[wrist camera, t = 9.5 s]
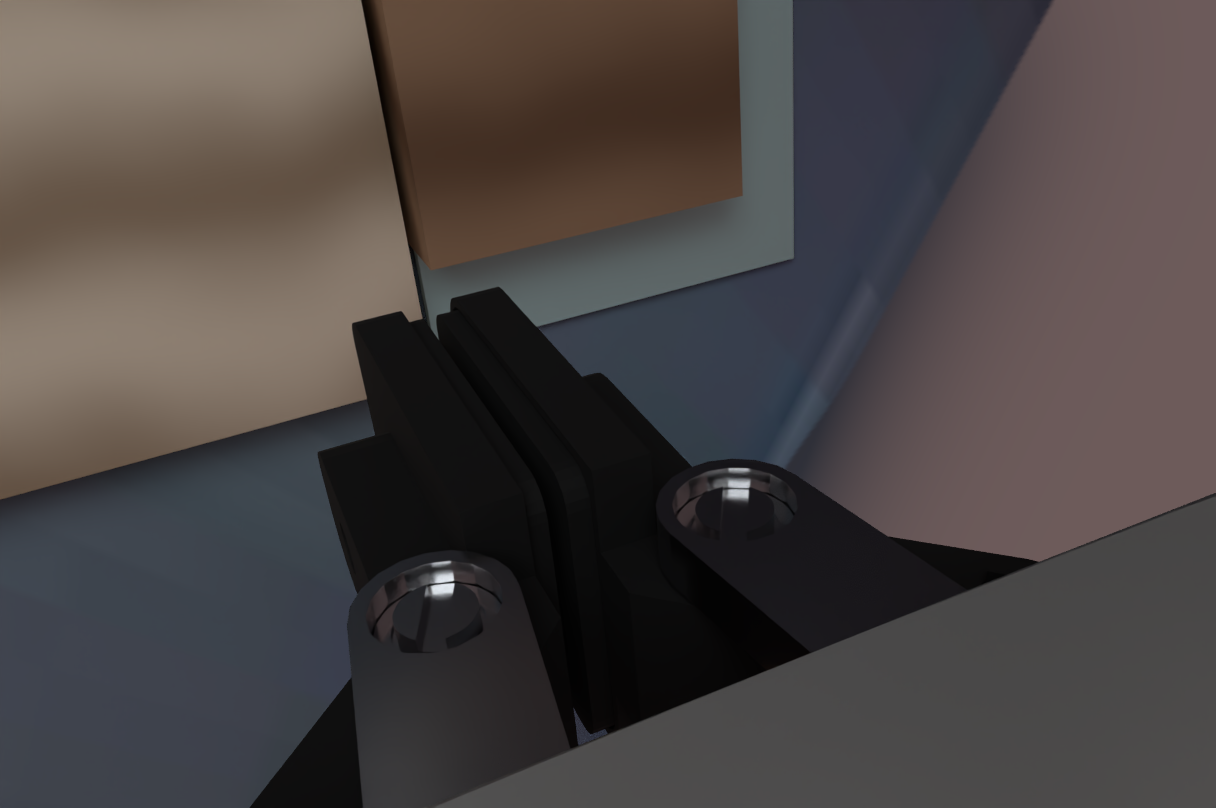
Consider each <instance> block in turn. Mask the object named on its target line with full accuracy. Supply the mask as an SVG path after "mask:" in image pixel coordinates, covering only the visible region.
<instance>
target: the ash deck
mask: <svg viewBox="0 0 1216 808" xmlns="http://www.w3.org/2000/svg"><path fill="white" fill-rule="evenodd" d="M398 311H402V312H403V313H404V315H405V316H406V318H407V319H408V321H409V322H412V321H416V320H420V319H422V314H421V309H420V304H419V299H418V294H417V289H416V283H415V278H414V273H413V268H412V263H411V257H410V252H409V247H408V242H407V237H406V231H405V226H404V221H403V216H402V211H401V205H400V200H399V195H398V190H397V185H396V179H395V174H394V169H393V164H392V159H391V153H390V148H389V143H388V138H387V133H386V127H385V122H384V117H383V112H382V107H381V102H380V96H379V91H378V86H377V81H376V76H375V70H374V65H373V60H372V55H371V50H370V44H369V39H368V34H367V29H366V24H365V18H364V13H363V8H362V3H361V0H0V499H4V498H8V497H11V496H15V495H19V494H22V493H26V492H30V491H33V490H37V489H40V488H44V487H48V486H51V485H55V484H59V483H62V482H66V481H70V480H73V479H77V478H81V477H84V476H88V475H92V474H95V473H99V472H102V471H106V470H110V469H113V468H117V467H121V466H124V465H128V464H132V463H135V462H139V461H143V460H146V459H150V458H154V457H157V456H161V455H164V454H168V453H172V452H175V451H179V450H183V449H186V448H190V447H194V446H197V445H201V444H205V443H208V442H212V441H216V440H219V439H223V438H227V437H230V436H234V435H237V434H241V433H245V432H248V431H252V430H256V429H259V428H263V427H267V426H270V425H274V424H278V423H281V422H285V421H289V420H292V419H296V418H299V417H303V416H307V415H310V414H314V413H318V412H321V411H325V410H329V409H332V408H336V407H340V406H343V405H347V404H351V403H354V402H358V401H361V400H365V399H367V396H366V392H365V388H364V383H363V379H362V374H361V370H360V366H359V361H358V357H357V352H356V348H355V343H354V338H353V332H352V323H354V322H358V321H362V320H366V319H370V318H374V317H378V316H382V315H386V314H390V313H394V312H398Z"/></svg>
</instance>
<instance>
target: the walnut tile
mask: <svg viewBox="0 0 1216 808" xmlns="http://www.w3.org/2000/svg"><path fill="white" fill-rule="evenodd" d="M361 3H362V8H363V13H364V18H365V24H366V29H367V34H368V39H369V44H370V50H371V55H372V60H373V65H374V70H375V76H376V81H377V86H378V91H379V96H380V102H381V107H382V112H383V117H384V122H385V127H386V133H387V138H388V143H389V148H390V153H391V159H392V164H393V169H394V174H395V179H396V185H397V190H398V195H399V200H400V205H401V211H402V216H403V221H404V226H405V231H406V237H407V242H408V244H409V245H410V246H411V247H412V248H413V250H414V251H415V252H416V253H417V254H418V256H419V257H420V258H421V259H422V260H423V262H424V263H425V264H426V265H427V266H428V268H429V269H430V270H435V269H439V268H443V267H448V266H452V265H456V264H460V263H464V262H469V261H473V260H477V259H481V258H485V257H489V256H494V255H498V254H502V253H506V252H510V251H514V250H519V249H523V248H527V247H531V246H535V245H539V244H544V243H548V242H552V241H556V240H560V239H564V238H569V237H573V236H577V235H581V234H585V233H589V232H594V231H598V230H602V229H606V228H610V227H614V226H619V225H623V224H627V223H631V222H635V221H639V220H644V219H648V218H652V217H656V216H660V215H665V214H669V213H673V212H677V211H681V210H685V209H690V208H694V207H698V206H702V205H706V204H710V203H715V202H719V201H723V200H727V199H731V198H735V197H740V196H743V187H742V150H741V114H740V77H739V41H738V4H737V0H361Z"/></svg>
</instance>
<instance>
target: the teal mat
mask: <svg viewBox="0 0 1216 808" xmlns="http://www.w3.org/2000/svg"><path fill="white" fill-rule="evenodd" d="M737 4H738V41H739V77H740V114H741V150H742V187H743V196H740V197H735V198H731V199H727V200H723V201H719V202H715V203H710V204H706V205H702V206H698V207H694V208H690V209H685V210H681V211H677V212H673V213H669V214H665V215H660V216H656V217H652V218H648V219H644V220H639V221H635V222H631V223H627V224H623V225H619V226H614V227H610V228H606V229H602V230H598V231H594V232H589V233H585V234H581V235H577V236H573V237H569V238H564V239H560V240H556V241H552V242H548V243H544V244H539V245H535V246H531V247H527V248H523V249H519V250H514V251H510V252H506V253H502V254H498V255H494V256H489V257H485V258H481V259H477V260H473V261H469V262H464V263H460V264H456V265H452V266H448V267H443V268H439V269H435V270H430V269H429V268H428V266H427V265H426V264H425V263H424V262H423V260H422V259H421V258H420V257H419V256H418V254H417V253H416V252H415V251H414V256H415V261H416V266H417V271H418V277H419V282H420V287H421V292H422V298H423V303H424V308H425V313H426V319H427V324H428V325H429V327H430V328H431V330H432V331H433V332H434V334H435V335H436V337H437V338H438V332H437V326H436V317H437V315H439V314H443V313H447V312H450V302H451V299H452V298H454V297H458V296H462V295H467V294H471V293H475V292H479V291H483V290H487V289H491V288H495V287H500V288H501V289H503V291H504V292H505V293H506V294H507V295H508V296H509V297H510V298H511V299H512V300H513V302H514V303H515V304H516V305H517V306H518V307H519V308H520V309H521V310H522V311H523V313H524V314H525V315H526V316H527V317H528V318H529V319H530V320H531V321H532V322H533V324H534V325H535V326H536V327H537V326H541V325H545V324H549V323H553V322H556V321H560V320H564V319H568V318H571V317H575V316H579V315H583V314H586V313H590V312H594V311H598V310H601V309H605V308H609V307H613V306H616V305H620V304H624V303H628V302H631V301H635V300H639V299H643V298H646V297H650V296H654V295H658V294H661V293H665V292H669V291H673V290H677V289H680V288H684V287H688V286H692V285H695V284H699V283H703V282H707V281H710V280H714V279H718V278H722V277H725V276H729V275H733V274H737V273H740V272H744V271H748V270H752V269H755V268H759V267H763V266H767V265H770V264H774V263H778V262H782V261H785V260H789V259H793V258H794V184H793V0H737ZM438 340H439V338H438Z"/></svg>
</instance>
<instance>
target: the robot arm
mask: <svg viewBox="0 0 1216 808" xmlns="http://www.w3.org/2000/svg"><path fill="white" fill-rule="evenodd" d="M436 326H437V332H438V338H439V340H438V338H437V337H436V335H435V334H434V332H433V331H432V330H431V328H430V327H429V325H428V324H427V322H426V321H425V320H424V319H420V320H416V321H412V322H409V321H408V319H407V318H406V316H405V315H404V313H403V312H402V311H398V312H394V313H390V314H386V315H382V316H378V317H374V318H370V319H366V320H362V321H358V322H354V323H352V332H353V338H354V343H355V348H356V352H357V357H358V361H359V366H360V370H361V374H362V379H363V383H364V388H365V392H366V396H367V401H368V405H369V410H370V414H371V418H372V423H373V427H374V432H375V436H372V437H369V438H365V439H362V440H358V441H355V442H351V443H348V444H344V445H340V446H337V447H333V448H330V449H326V450H323V451H319V452H318V459H319V463H320V468H321V472H322V476H323V480H324V484H325V487H326V491H327V495H328V499H329V503H330V506H331V510H332V514H333V518H334V521H335V525H336V528H337V532H338V535H339V539H340V542H341V546H342V549H343V552H344V555H345V559H346V562H347V565H348V568H349V571H350V574H351V577H352V580H353V583H354V586H355V589H356V592H357V594H358V595H357V596H356V598H355V600H354V601H353V603H352V605H351V606H350V610H349V616H348V623H347V630H348V642H349V653H350V664H351V676H352V677H351V679H350V680H349V681H348V682H347V684H346V685H345V686H344V688H343V689H342V690H341V691H340V693H339V694H338V695H337V697H336V698H335V699H334V700H333V702H332V703H331V704H330V705H329V707H328V708H327V709H326V711H325V712H324V713H323V714H322V716H321V717H320V718H319V720H318V721H317V722H316V723H315V725H314V726H313V727H312V729H311V730H310V731H309V732H308V734H307V735H306V736H305V737H304V739H303V740H302V741H301V743H300V744H299V745H298V746H297V748H296V749H295V750H294V752H293V753H292V754H291V755H290V757H289V758H288V759H287V760H286V762H285V763H284V764H283V766H282V767H281V768H280V769H279V771H278V772H277V773H276V775H275V776H274V777H273V778H272V780H271V781H270V782H269V784H268V785H267V786H266V787H265V789H264V790H263V791H262V792H261V794H260V795H259V796H258V798H257V799H256V800H255V801H254V803H253V804H252V805H251V807H250V808H1216V493H1214V494H1211V495H1209V496H1206V497H1204V498H1201V499H1199V500H1196V501H1194V502H1191V503H1188V504H1186V505H1183V506H1181V507H1178V508H1176V509H1173V510H1171V511H1168V512H1165V513H1163V514H1161V515H1158V516H1155V517H1153V518H1150V519H1148V520H1145V521H1143V522H1140V523H1137V524H1135V525H1132V526H1130V527H1127V528H1125V529H1122V530H1119V531H1117V532H1114V533H1112V534H1109V535H1107V536H1104V537H1102V538H1099V539H1097V540H1094V541H1091V542H1089V543H1086V544H1084V545H1081V546H1079V547H1076V548H1074V549H1071V550H1069V551H1066V552H1063V553H1061V554H1058V555H1056V556H1053V557H1051V558H1048V559H1046V560H1043V561H1040V562H1037V561H1033V560H1029V559H1024V558H1017V557H1012V556H1005V555H999V554H993V553H987V552H981V551H974V550H968V549H962V548H956V547H950V546H943V545H937V544H931V543H924V542H919V541H913V540H906V539H900V538H893V537H888V536H886V535H885V534H883V533H882V532H880V531H878V530H877V529H875V528H874V527H872V526H871V525H870V524H868V523H867V522H865V521H864V520H862V519H861V518H859V517H858V516H856V515H855V514H853V513H852V512H850V511H849V510H847V509H846V508H844V507H843V506H841V505H840V504H838V503H837V502H835V501H834V500H832V499H831V498H829V497H828V496H826V495H825V494H823V493H822V492H820V491H819V490H817V489H816V488H815V487H813V486H811V485H810V484H809V483H807V482H806V481H804V480H803V479H801V478H799V477H798V476H797V475H795V474H793V473H791V472H789V471H787V470H785V469H783V468H781V467H779V466H777V465H773V464H769V463H765V462H761V461H757V460H744V459H726V460H717V461H709V462H706V463H703V464H699V465H696V466H693V467H692V466H691V465H690V464H689V463H688V462H687V461H686V460H685V459H684V458H683V457H682V456H681V455H680V454H679V453H678V452H677V451H676V450H675V449H674V448H673V446H672V445H671V444H670V443H669V442H668V441H667V440H666V439H665V438H664V437H663V436H662V435H661V434H660V433H659V432H658V431H657V430H656V429H655V428H654V426H653V425H652V424H651V423H650V422H649V421H648V420H647V419H646V418H645V417H644V416H643V415H642V414H641V413H640V412H639V411H638V410H637V409H636V408H635V407H634V405H633V404H632V403H631V402H630V401H629V400H628V399H627V398H626V397H625V396H624V395H623V394H622V393H621V392H620V391H619V390H618V389H617V388H616V387H615V386H614V384H613V383H612V382H611V381H610V380H609V379H608V378H607V377H605V376H604V375H603V374H601V373H594V374H590V375H587V376H583V377H582V376H581V375H580V374H579V373H578V372H577V371H576V370H575V369H574V368H573V367H572V365H571V364H570V363H569V362H568V361H567V360H566V359H565V358H564V357H563V356H562V354H561V353H560V352H559V351H558V350H557V349H556V348H555V347H554V346H553V345H552V343H551V342H550V341H549V340H548V339H547V338H546V337H545V336H544V335H543V333H542V332H541V331H540V330H539V329H538V328H537V327H536V326H535V325H534V324H533V322H532V321H531V320H530V319H529V318H528V317H527V316H526V315H525V314H524V313H523V311H522V310H521V309H520V308H519V307H518V306H517V305H516V304H515V303H514V302H513V300H512V299H511V298H510V297H509V296H508V295H507V294H506V293H505V292H504V291H503V289H501V288H500V287H495V288H491V289H487V290H483V291H479V292H475V293H471V294H467V295H462V296H458V297H454V298H452V299H451V302H450V312H447V313H443V314H439V315H437V317H436ZM573 707H574V709H575V711H576V713H577V715H578V716H579V718H580V720H581V722H582V723H583V725H584V727H585V728H586V730H587V731H588V732H589V733H590V734H593V733H596V732H598V731H601V730H603V729H606V731H607V733H608V734H607V735H604V736H602V737H599V738H596V739H594V740H591V741H589V742H586V743H584V744H581V745H579V746H578V741H577V732H576V724H575V717H574V709H573Z"/></svg>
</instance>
